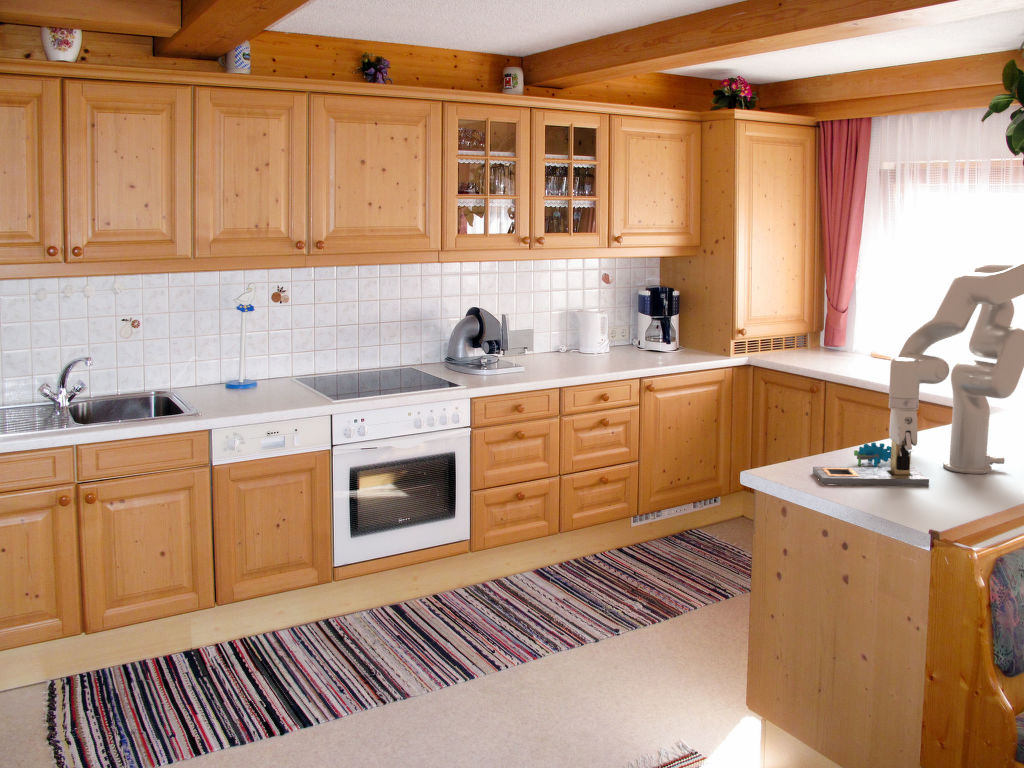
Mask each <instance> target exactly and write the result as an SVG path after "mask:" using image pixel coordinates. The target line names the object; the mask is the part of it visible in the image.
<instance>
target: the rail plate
mask: <svg viewBox="0 0 1024 768" xmlns="http://www.w3.org/2000/svg"><path fill="white" fill-rule="evenodd" d="M812 475H815V476H816V477H817V478H818V479H819V480H818V479H817V478H816V477H815V476H814V477H815V478H816V479H817V480H818V482H819V483H820V482H821V483H822V484H837V485H836V486H858V485H862V486H863V487H865V486H866V487H868V486H870V487H871V486H872V487H873V486H874V487H880V486H882V487H929V486H930V478H928V477H927V476H926V475H925V474H923V473H922V472H921V471H919V470H918V469H916V468H915V467H910V476H892V475H891V474H890V467H883V466H882V467H881V466H880V467H878V466H877V467H874V466H873V467H872V466H871V467H866V466H865V467H864V466H863V467H861V466H856V467H855V466H812ZM821 483H820V484H821ZM822 484H821V485H822Z"/></svg>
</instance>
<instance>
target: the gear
mask: <svg viewBox="0 0 1024 768" xmlns="http://www.w3.org/2000/svg"><path fill="white" fill-rule="evenodd" d="M853 456H854V457H856V459H857V460H858V461H857V463H858V464H857V467H861V465H862V460H863V461H865V460H866V461H867V462H868V463H872V462H873V467H878V465H879V463H881V462H882V461H883V462H884V463H885V462H886V463H888V462H889V459H890V460H891V446H889V445H888V446H887V445H886V448H885V443H879V446H878V445H877V443H876V442H875V441H874V442H871V443H870V445H869V444H868V443H864V444H863V446H859V447H858V449H857V450H853Z"/></svg>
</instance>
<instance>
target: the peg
mask: <svg viewBox="0 0 1024 768" xmlns="http://www.w3.org/2000/svg"><path fill="white" fill-rule="evenodd" d="M911 441H912V440H911ZM890 445H891V446H890V447H891V459H890V467H889V468H890V474H891V475H892V476H910V468H911V465H910V466H909V470H897V456H899V445H898V444H896V443H895V442H894V441H893V440H891V444H890ZM902 445H905V443H902ZM903 448H905V447H902V449H903ZM911 455H912V452H911V451H910V461H911V459H912V457H911Z"/></svg>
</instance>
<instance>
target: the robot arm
mask: <svg viewBox="0 0 1024 768" xmlns="http://www.w3.org/2000/svg"><path fill="white" fill-rule="evenodd" d="M1023 295H1024V262H1023V261H1022V262H1021V261H996V260H995V261H994V260H992V261H991V260H990V261H983V262H981V263H979V264H978V265H976V267H975V269H974V272H963V273H960V274H958V275H957V276H956V277H955V278H954V279H953V280H952V283H951V284H950V287H949V288H948V290H947V292H946V294H945V296H944V298H943V300H942V301H941V303H940V306H939V307H938V309H937V311H936V313H935V315H934V317H933V318H932V319H931V320H929V321H927V322H926V323H925V324H923V325H922V326H921V327H919V328H917V330H915V331H914V332H913V333H912V334H911V335H910V336H909V337H908V338H907V340H906V341H905V343H904V344H903V346H902V348H901V350H900V352H899V353H898V356H897V357H895V358H893V359H892V360H891V362H890V371H889V392H888V409H890V415H889V416H890V417H889V429H888V430H889V431H888V437H889V439H890V440H891V441H892V440H893V441H894V442H895V443H896V444H898V445H899V456H897V470H909V466H910V467H911V460H910V451H911V450H912V449H913V447H914V446H915V447H916V446H917V445H918V414H917V411H918V410H919V397H920V385H921V384H927V385H936V384H940V383H942V382H943V381H945V380H946V379H947V378H948V376H949V374H950V382H951V388H952V389H951V390H952V416H951V417H952V419H951V431H950V432H951V433H950V434H951V435H950V448H949V449H950V450H949V459H948V460H945V461H944V462H943V463H942V465H943V468H944V469H946V470H948V471H952V472H954V473H962V474H968V473H969V475H980V474H981V475H982V474H984V475H985V474H988V473H990V472H992V471H993V469H992V468H993V467H992V465H993V464H995V465H1004V464H1005V458H1004V457H1003V456H1002V457H1001V456H996V455H990V454H988V443H989V442H988V439H989V426H990V416H991V415H990V414H991V409H990V404H989V401H988V399H987V398H993V399H999V400H1000V399H1007V398H1010V396H1012V394H1013V393H1014V392H1015V390H1016V388H1017V386H1018V384H1019V382H1020V378H1021V376H1022V373H1023V371H1024V330H1023V328H1019V327H1016V326H1011V324H1012V321H1013V318H1014V315H1015V306H1014V303H1013V300H1014V299H1015V298H1017V297H1021V296H1023ZM978 305H981V308H980V310H979V314H978V317H977V320H976V323H975V325H974V328H973V331H972V333H971V337H970V338H969V339H970V340H969V343H968V344H969V345H968V349H969V351H970V353H972V355H974V356H976V357H979V358H985V359H990V360H991V359H992V360H996V362H995V363H994V362H989V361H983V360H976V359H975V360H974V359H966V360H965V359H964V360H961V361H959V362H958V363H956V364H955V365H954V366H953V368H952V370H951V373H950V366H949V364H948V362H947V361H946V360H945V359H943V358H941V357H939V356H933V355H927V354H924V353H925V352H926V351H927V350H928V349H929V347H931V346H933V345H935V344H936V343H937V342H940V341H942V340H945V339H948V338H952V337H953V336H956V335H960V334H962V333H963V332H964V331H965V330H966V329H967V326H968V324H969V322H970V320H971V318H972V316H973V314H974V312H975V310H976V309H977V307H978ZM911 440H912V441H911ZM902 443H905V445H902ZM902 447H905V448H903V449H902Z"/></svg>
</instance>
